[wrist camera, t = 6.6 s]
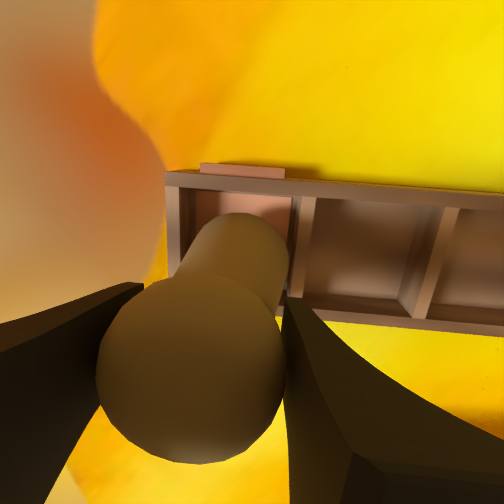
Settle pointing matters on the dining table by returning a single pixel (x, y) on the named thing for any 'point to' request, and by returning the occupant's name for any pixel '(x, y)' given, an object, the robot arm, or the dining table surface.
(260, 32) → the dining table surface
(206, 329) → the pepper mill
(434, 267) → the spice rack
